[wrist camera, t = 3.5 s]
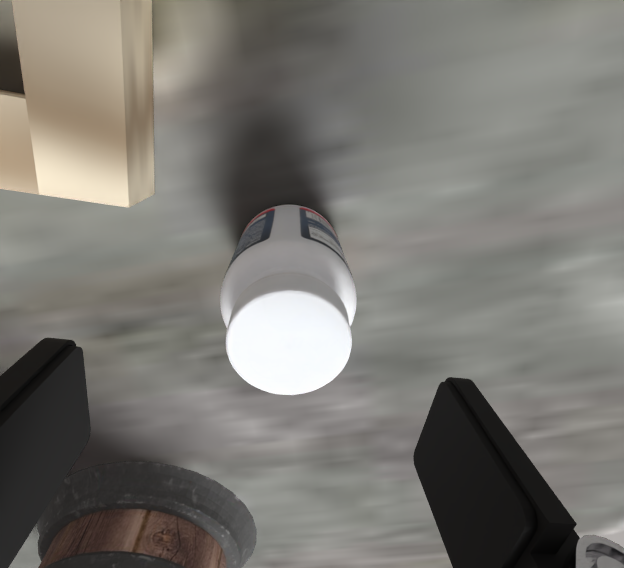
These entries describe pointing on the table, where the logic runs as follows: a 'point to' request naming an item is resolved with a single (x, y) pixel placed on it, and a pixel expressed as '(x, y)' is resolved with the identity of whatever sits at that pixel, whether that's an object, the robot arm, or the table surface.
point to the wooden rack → (81, 102)
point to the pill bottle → (288, 302)
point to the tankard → (144, 520)
